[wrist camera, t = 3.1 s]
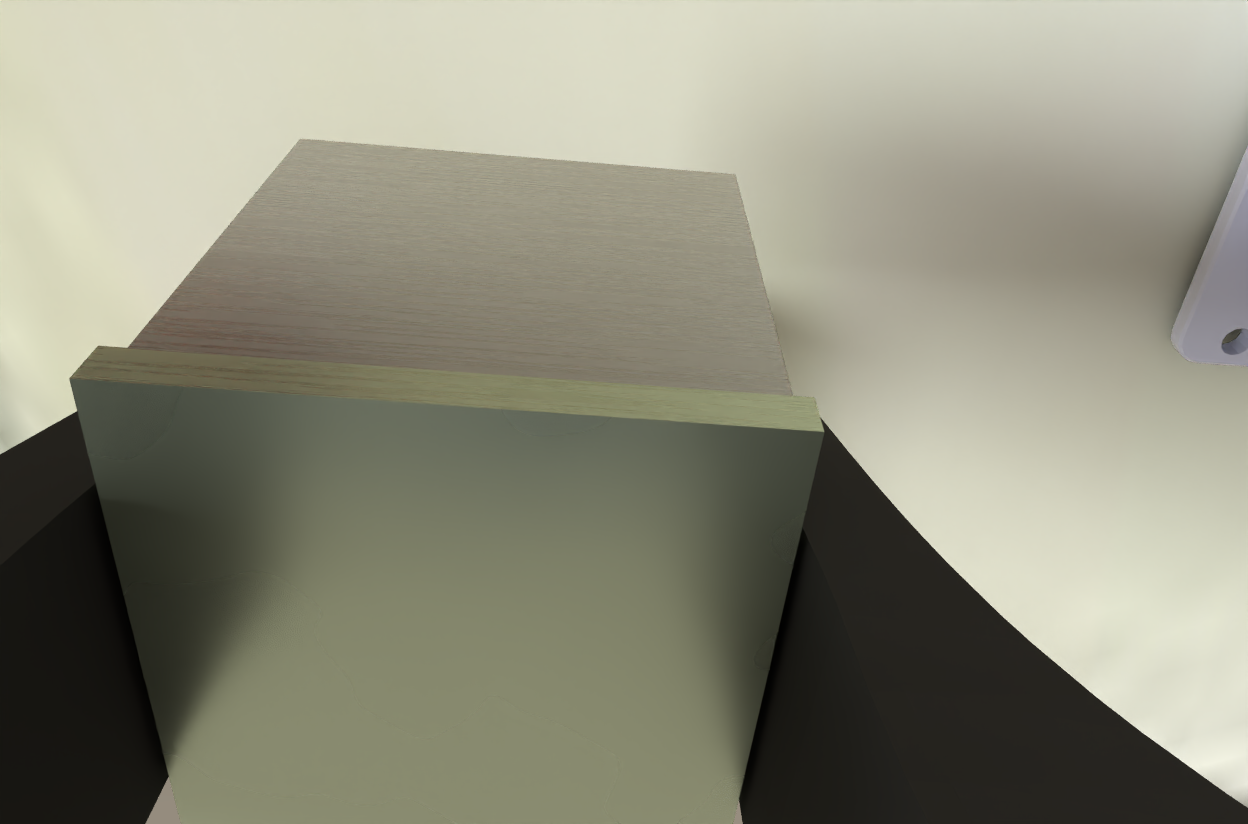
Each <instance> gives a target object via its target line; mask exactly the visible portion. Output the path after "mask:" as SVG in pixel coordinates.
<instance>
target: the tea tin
mask: <svg viewBox="0 0 1248 824" xmlns="http://www.w3.org/2000/svg"><path fill="white" fill-rule="evenodd" d="M69 379H70V383H71V387H72V391H73V395H74V399H75V403H76V407H77V411H78V415H79V419H80V423H81V427H82V431H83V435H84V439H85V443H86V447H87V451H88V455H89V459H90V463H91V467H92V471H93V475H94V479H95V483H96V487H97V491H98V495H99V499H100V503H101V507H102V511H103V515H104V519H105V523H106V527H107V531H108V535H109V539H110V543H111V547H112V551H113V555H114V559H115V563H116V567H117V571H118V575H119V579H120V583H121V587H122V591H123V595H124V599H125V603H126V607H127V611H128V615H129V619H130V623H131V627H132V631H133V635H134V639H135V643H136V647H137V651H138V655H139V659H140V663H141V667H142V671H143V675H144V679H145V683H146V687H147V691H148V695H149V699H150V703H151V707H152V711H153V715H154V719H155V723H156V727H157V731H158V735H159V739H160V743H161V747H162V751H163V755H164V759H165V763H166V767H167V771H168V775H169V778H170V783H171V786H172V791H173V795H174V799H175V803H176V806H177V810H178V814H179V819H180V823H181V824H733V822H734V818H735V813H736V809H737V805H738V801H739V796H740V792H741V788H742V784H743V779H744V775H745V771H746V766H747V762H748V758H749V754H750V749H751V745H752V741H753V736H754V732H755V728H756V723H757V719H758V715H759V711H760V706H761V702H762V698H763V693H764V689H765V685H766V681H767V676H768V672H769V668H770V663H771V659H772V655H773V650H774V646H775V642H776V638H777V633H778V629H779V625H780V620H781V616H782V612H783V608H784V603H785V599H786V595H787V590H788V586H789V582H790V577H791V573H792V569H793V565H794V560H795V556H796V552H797V547H798V543H799V539H800V535H801V530H802V526H803V522H804V517H805V513H806V509H807V504H808V500H809V496H810V492H811V487H812V483H813V479H814V474H815V470H816V466H817V462H818V457H819V453H820V449H821V444H822V440H823V436H824V429H823V425H822V422H821V418H820V415H819V412H818V408H817V405H816V401H815V398H814V397H801V396H793V394H792V390H791V386H790V382H789V378H788V374H787V370H786V367H785V363H784V359H783V355H782V351H781V347H780V344H779V340H778V336H777V332H776V328H775V324H774V321H773V317H772V313H771V309H770V305H769V301H768V297H767V294H766V290H765V286H764V282H763V278H762V274H761V271H760V267H759V263H758V259H757V255H756V251H755V248H754V244H753V240H752V236H751V232H750V228H749V224H748V221H747V217H746V213H745V209H744V205H743V201H742V198H741V194H740V190H739V186H738V182H737V178H736V175H735V174H723V173H711V172H699V171H687V170H674V169H662V168H650V167H638V166H626V165H613V164H601V163H589V162H577V161H565V160H552V159H540V158H528V157H516V156H504V155H491V154H479V153H467V152H455V151H443V150H431V149H418V148H406V147H394V146H382V145H370V144H357V143H345V142H333V141H321V140H309V139H300V140H299V141H298V142H297V143H296V145H295V146H294V147H293V148H292V149H291V151H290V152H289V153H288V154H287V155H286V157H285V158H284V159H283V160H282V162H281V163H280V164H279V165H278V166H277V168H276V169H275V170H274V171H273V172H272V174H271V175H270V176H269V177H268V179H267V180H266V181H265V182H264V183H263V185H262V186H261V187H260V188H259V189H258V191H257V192H256V193H255V194H254V195H253V197H252V198H251V199H250V200H249V202H248V203H247V204H246V205H245V206H244V208H243V209H242V210H241V211H240V212H239V214H238V215H237V216H236V217H235V218H234V220H233V221H232V222H231V223H230V225H229V226H228V227H227V228H226V229H225V231H224V232H223V233H222V234H221V235H220V237H219V238H218V239H217V240H216V241H215V243H214V244H213V245H212V246H211V248H210V249H209V250H208V251H207V252H206V254H205V255H204V256H203V257H202V258H201V260H200V261H199V262H198V263H197V264H196V266H195V267H194V268H193V269H192V271H191V272H190V273H189V274H188V275H187V277H186V278H185V279H184V280H183V281H182V283H181V284H180V285H179V286H178V287H177V289H176V290H175V291H174V292H173V294H172V295H171V296H170V297H169V298H168V300H167V301H166V302H165V303H164V304H163V306H162V307H161V308H160V309H159V310H158V312H157V313H156V314H155V315H154V317H153V318H152V319H151V320H150V321H149V323H148V324H147V325H146V326H145V327H144V329H143V330H142V331H141V332H140V333H139V335H138V336H137V337H136V338H135V340H134V341H133V342H132V343H131V344H130V346H129V347H128V348H121V347H107V346H98V347H97V348H96V349H95V350H94V351H93V352H92V353H91V355H90V356H89V357H88V358H87V359H86V360H85V361H84V362H83V364H82V365H81V366H80V367H79V368H78V369H77V370H76V372H75V373H74V374H73V375H72V376H71V377H70V378H69Z"/></svg>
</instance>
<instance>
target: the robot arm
mask: <svg viewBox="0 0 1248 824" xmlns="http://www.w3.org/2000/svg"><path fill="white" fill-rule="evenodd" d="M1235 329H1242V330H1241V333H1240V334H1239V336H1238V337H1237V338H1236V339H1235V340H1233V341H1231V342H1229V343H1225V344H1222V340H1223V339H1224V338H1225V336H1226V335H1227V334H1228V333H1230V332H1232V331H1233V330H1235ZM1171 341H1172V344H1173V347H1174V348H1175V349H1176V350H1177V351H1178V352H1179V353H1180V354H1181V355H1182V356H1183V357H1184V358H1185V359H1186V360H1187V361H1191V362H1195V363H1203V364H1217V365H1231V366H1245V367H1248V146H1247V148H1246V151H1245V153H1244V156H1243V158H1242V161H1241V163H1240V165H1239V168H1238V170H1237V173H1236V175H1235V178H1234V180H1233V182H1232V185H1231V187H1230V190H1229V192H1228V195H1227V197H1226V199H1225V202H1224V204H1223V207H1222V209H1221V212H1220V214H1219V216H1218V219H1217V221H1216V224H1215V226H1214V229H1213V231H1212V233H1211V236H1210V238H1209V241H1208V243H1207V246H1206V248H1205V250H1204V253H1203V255H1202V258H1201V260H1200V263H1199V265H1198V267H1197V270H1196V272H1195V275H1194V277H1193V279H1192V282H1191V284H1190V287H1189V289H1188V292H1187V294H1186V296H1185V299H1184V301H1183V304H1182V306H1181V309H1180V311H1179V313H1178V316H1177V318H1176V321H1175V323H1174V326H1173V328H1172V333H1171ZM821 422H822V425H823V429H824V436H823V440H822V444H821V449H820V453H819V457H818V462H817V466H816V470H815V474H814V479H813V483H812V487H811V492H810V496H809V500H808V504H807V509H806V513H805V517H804V522H803V526H802V530H801V535H800V539H799V543H798V547H797V552H796V556H795V560H794V565H793V569H792V573H791V577H790V582H789V586H788V590H787V595H786V599H785V603H784V608H783V612H782V616H781V620H780V625H779V629H778V633H777V638H776V642H775V646H774V650H773V655H772V659H771V663H770V668H769V672H768V676H767V681H766V685H765V689H764V693H763V698H762V702H761V706H760V711H759V715H758V719H757V723H756V728H755V732H754V736H753V741H752V745H751V749H750V754H749V758H748V762H747V766H746V771H745V775H744V779H743V784H742V788H741V792H740V796H739V802H740V808H741V815H742V822H743V824H1248V808H1247V807H1246V806H1244V805H1243V804H1241V803H1240V802H1238V801H1237V800H1235V799H1234V798H1232V797H1231V796H1229V795H1228V794H1226V793H1225V792H1224V791H1222V790H1221V789H1219V788H1218V787H1217V786H1215V785H1214V784H1212V783H1211V782H1210V781H1208V780H1207V779H1205V778H1204V777H1203V776H1201V775H1200V774H1199V773H1197V772H1196V771H1194V770H1193V769H1192V768H1190V767H1189V766H1187V765H1186V764H1185V763H1183V762H1182V761H1181V760H1179V759H1178V758H1176V757H1175V756H1174V755H1172V754H1171V753H1169V752H1168V751H1167V750H1165V749H1164V748H1163V747H1161V746H1160V745H1158V744H1157V743H1156V742H1154V741H1153V740H1151V739H1150V738H1149V737H1147V736H1146V735H1145V734H1143V733H1142V732H1140V731H1139V730H1138V729H1137V728H1135V727H1134V726H1133V725H1131V724H1130V723H1129V722H1128V721H1126V720H1125V719H1124V718H1122V717H1121V716H1120V715H1118V714H1117V713H1116V712H1115V711H1113V710H1112V709H1111V708H1109V707H1108V706H1107V705H1105V704H1104V703H1103V702H1102V701H1100V700H1099V699H1098V698H1097V697H1095V696H1094V695H1093V694H1092V693H1091V692H1089V691H1088V690H1087V689H1086V688H1085V687H1083V686H1082V685H1081V684H1080V683H1079V682H1078V681H1076V680H1075V679H1074V678H1073V677H1072V676H1070V675H1069V674H1068V673H1067V672H1066V671H1064V670H1063V669H1062V668H1061V667H1060V666H1058V665H1057V664H1056V663H1055V662H1054V661H1052V660H1051V659H1050V658H1049V657H1048V656H1047V655H1045V654H1044V653H1043V652H1042V651H1041V650H1039V649H1038V648H1037V647H1036V646H1035V645H1033V644H1032V643H1031V642H1030V641H1029V640H1028V639H1027V638H1025V637H1024V636H1023V635H1022V634H1021V633H1020V632H1019V631H1018V630H1017V629H1016V628H1014V627H1013V626H1012V625H1011V624H1010V623H1009V622H1008V621H1007V620H1006V619H1004V618H1003V617H1002V616H1001V615H1000V614H999V613H998V612H997V611H996V610H995V609H994V608H993V607H992V606H991V605H990V604H989V603H988V602H987V601H986V600H985V599H984V598H983V597H982V596H981V595H980V594H979V593H978V592H977V591H975V590H974V589H973V588H972V587H971V586H970V585H969V584H968V583H967V582H966V581H965V580H964V579H963V578H962V577H961V576H960V575H959V574H958V573H957V572H956V571H955V570H954V569H953V568H952V567H951V566H950V565H949V564H948V563H947V562H946V561H945V560H944V559H943V558H942V557H941V556H940V555H939V554H938V552H937V551H936V550H935V549H934V548H933V547H932V546H931V545H930V544H929V543H928V542H927V541H926V540H925V539H924V538H923V537H922V536H921V535H920V533H919V532H918V531H917V530H916V529H915V528H914V527H913V526H912V525H911V524H910V523H909V521H908V520H907V519H906V518H905V517H904V516H903V515H902V514H901V513H900V511H899V510H898V509H897V508H896V507H895V506H894V505H893V504H892V502H891V501H890V500H889V499H888V498H887V497H886V496H885V494H884V493H883V492H882V491H881V490H880V489H879V487H878V486H877V485H876V484H875V483H874V482H873V481H872V479H871V478H870V477H869V476H868V475H867V473H866V472H865V471H864V470H863V469H862V467H861V466H860V465H859V464H858V463H857V461H856V460H855V459H854V458H853V457H852V455H851V454H850V453H849V452H848V451H847V449H846V448H845V447H844V446H843V444H842V443H841V442H840V441H839V440H838V438H837V437H836V436H835V435H834V433H833V432H832V431H831V430H830V429H829V427H828V426H827V425H826V424H825V422H824V421H823V420H822V419H821ZM168 777H169V775H168V771H167V767H166V763H165V759H164V755H163V751H162V747H161V743H160V739H159V735H158V731H157V727H156V723H155V719H154V715H153V711H152V707H151V703H150V699H149V695H148V691H147V687H146V683H145V679H144V675H143V671H142V667H141V663H140V659H139V655H138V651H137V647H136V643H135V639H134V635H133V631H132V627H131V623H130V619H129V615H128V611H127V607H126V603H125V599H124V595H123V591H122V587H121V583H120V579H119V575H118V571H117V567H116V563H115V559H114V555H113V551H112V547H111V543H110V539H109V535H108V531H107V527H106V523H105V519H104V515H103V511H102V507H101V503H100V499H99V495H98V491H97V487H96V483H95V479H94V475H93V471H92V467H91V463H90V459H89V455H88V451H87V447H86V443H85V439H84V435H83V431H82V427H81V423H80V419H79V415H78V411H77V412H75V413H73V414H71V415H69V416H68V417H66V418H64V419H62V420H61V421H59V422H57V423H55V424H53V425H52V426H50V427H48V428H46V429H45V430H43V431H41V432H39V433H38V434H36V435H34V436H32V437H30V438H29V439H27V440H25V441H23V442H22V443H20V444H18V445H16V446H15V447H13V448H11V449H9V450H7V451H6V452H4V453H2V454H0V824H145V823H146V821H147V819H148V817H149V815H150V813H151V811H152V809H153V807H154V805H155V803H156V801H157V799H158V797H159V795H160V793H161V791H162V789H163V787H164V785H165V783H166V781H167V779H168Z"/></svg>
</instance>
